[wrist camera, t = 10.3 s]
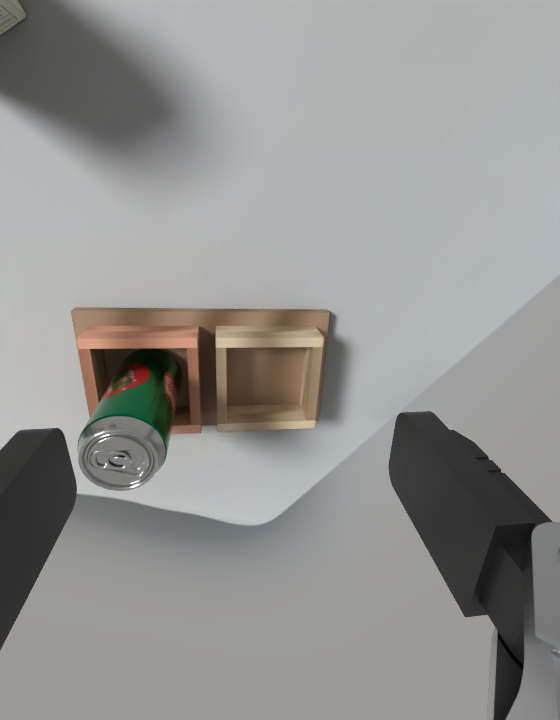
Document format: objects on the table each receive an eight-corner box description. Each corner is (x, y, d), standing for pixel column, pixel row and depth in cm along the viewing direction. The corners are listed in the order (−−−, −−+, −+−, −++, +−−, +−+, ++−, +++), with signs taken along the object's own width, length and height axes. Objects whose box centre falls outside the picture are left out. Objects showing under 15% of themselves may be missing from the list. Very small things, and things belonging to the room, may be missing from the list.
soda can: (179, 401, 34) (159, 498, 23) (119, 394, 32) (69, 493, 22) (186, 350, 32) (169, 429, 21) (123, 340, 31) (71, 419, 20)
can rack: (326, 309, 33) (339, 323, 30) (316, 415, 38) (326, 438, 34) (75, 307, 30) (55, 323, 26) (95, 423, 34) (80, 450, 31)
